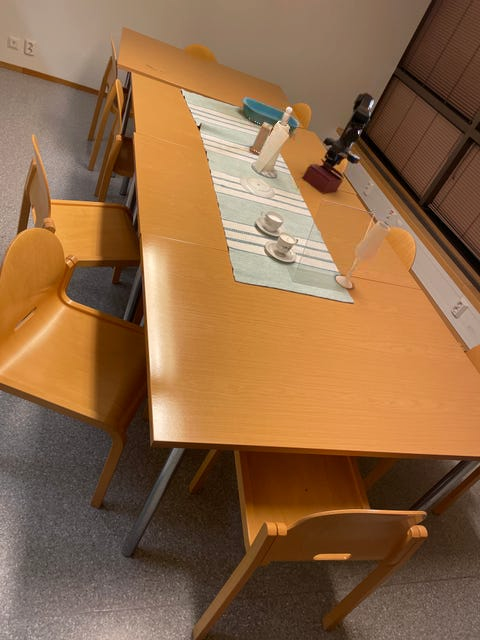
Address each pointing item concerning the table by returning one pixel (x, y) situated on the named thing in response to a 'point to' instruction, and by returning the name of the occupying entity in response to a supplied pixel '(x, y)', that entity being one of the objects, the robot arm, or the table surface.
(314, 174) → the dark red open box
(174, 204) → the table surface
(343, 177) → the flap
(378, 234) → the champagne flute
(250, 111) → the casserole dish
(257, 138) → the supplement box
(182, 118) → the table surface
